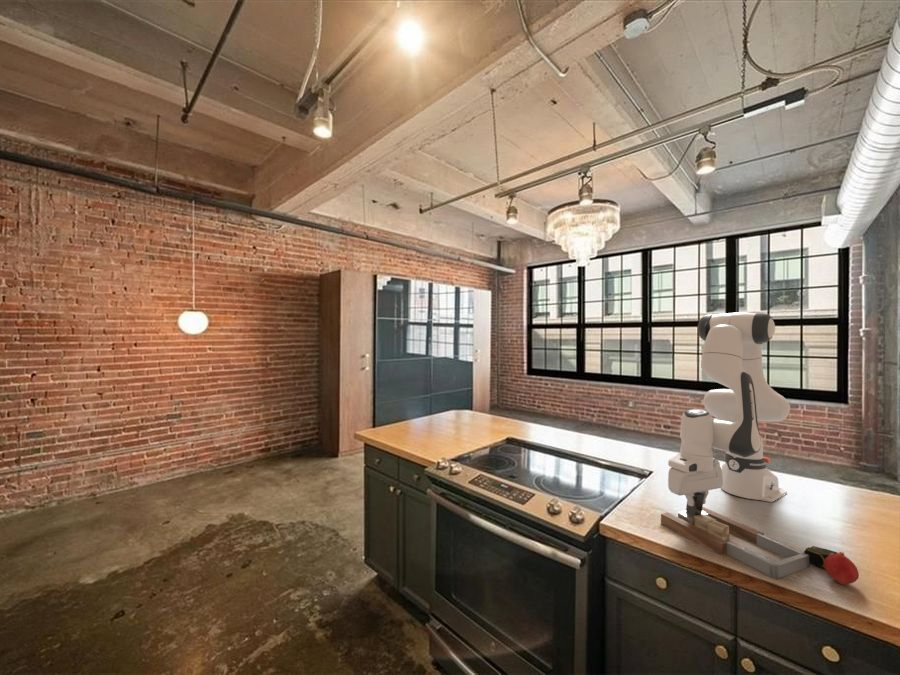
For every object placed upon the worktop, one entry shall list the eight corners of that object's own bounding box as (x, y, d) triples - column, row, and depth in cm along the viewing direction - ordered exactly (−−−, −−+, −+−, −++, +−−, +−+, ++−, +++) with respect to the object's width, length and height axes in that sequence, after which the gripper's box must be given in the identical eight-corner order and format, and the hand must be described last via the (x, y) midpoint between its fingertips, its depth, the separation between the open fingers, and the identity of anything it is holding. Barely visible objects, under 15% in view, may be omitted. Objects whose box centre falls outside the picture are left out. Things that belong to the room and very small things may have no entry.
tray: (759, 544, 107) (759, 533, 107) (809, 567, 96) (809, 555, 96) (726, 553, 102) (726, 542, 102) (775, 579, 91) (775, 566, 91)
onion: (817, 577, 92) (817, 545, 92) (837, 576, 93) (837, 544, 93) (843, 593, 86) (843, 559, 86) (865, 591, 87) (865, 557, 87)
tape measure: (850, 568, 94) (846, 552, 95) (833, 573, 92) (829, 557, 93) (817, 558, 101) (813, 543, 101) (800, 563, 98) (797, 548, 99)
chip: (714, 533, 113) (714, 520, 113) (729, 539, 110) (729, 525, 110) (707, 536, 111) (707, 523, 111) (722, 542, 108) (722, 529, 108)
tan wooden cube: (703, 526, 117) (703, 513, 117) (716, 532, 113) (716, 519, 113) (694, 528, 116) (694, 515, 116) (706, 535, 112) (707, 521, 112)
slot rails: (700, 514, 125) (699, 505, 125) (763, 543, 107) (763, 533, 108) (660, 523, 119) (661, 513, 119) (721, 555, 101) (721, 544, 101)
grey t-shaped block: (696, 517, 122) (700, 487, 120) (707, 524, 118) (711, 493, 117) (677, 522, 119) (681, 491, 117) (687, 528, 115) (691, 497, 114)
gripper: (709, 455, 124) (709, 496, 124) (664, 461, 117) (664, 504, 117) (729, 460, 118) (729, 503, 118) (682, 467, 111) (682, 513, 111)
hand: (696, 504), depth 117 cm, fingers closed on grey t-shaped block, 3 cm apart
